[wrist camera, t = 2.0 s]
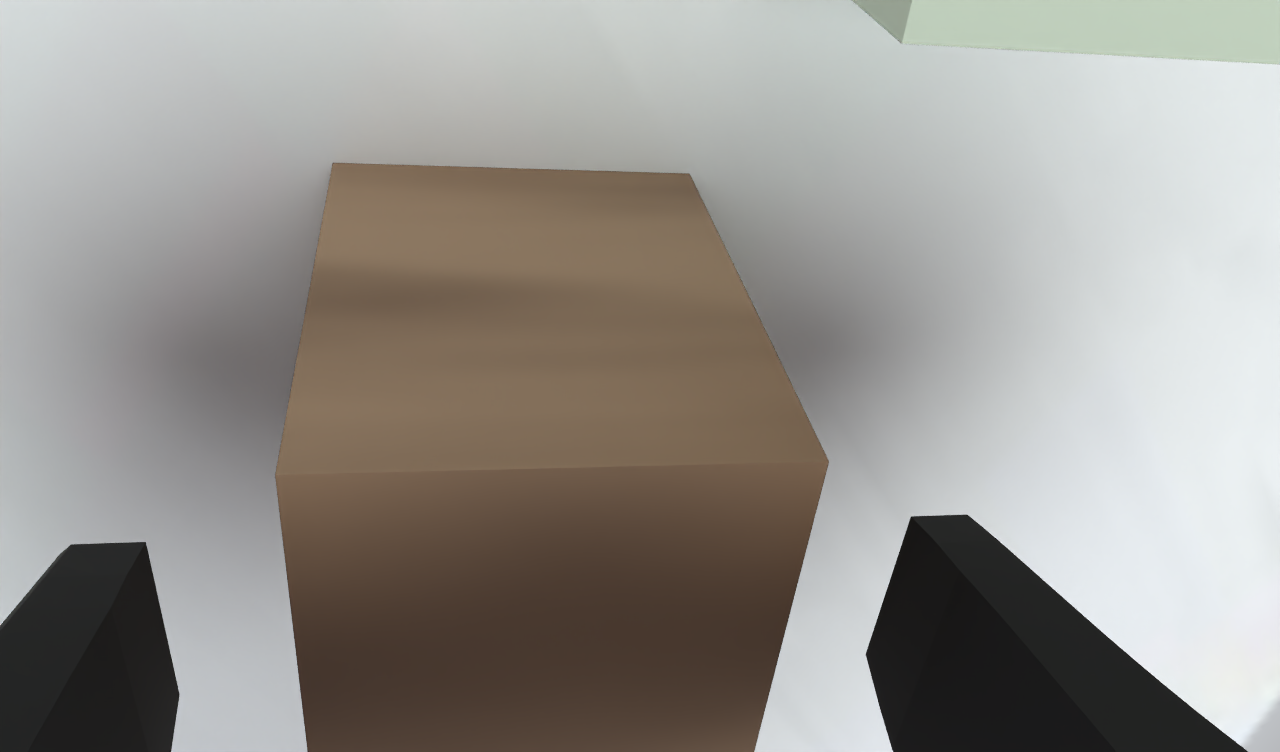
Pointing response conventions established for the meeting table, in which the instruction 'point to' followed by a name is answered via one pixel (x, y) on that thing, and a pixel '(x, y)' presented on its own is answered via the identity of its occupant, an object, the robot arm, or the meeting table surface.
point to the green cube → (1091, 26)
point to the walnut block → (536, 469)
